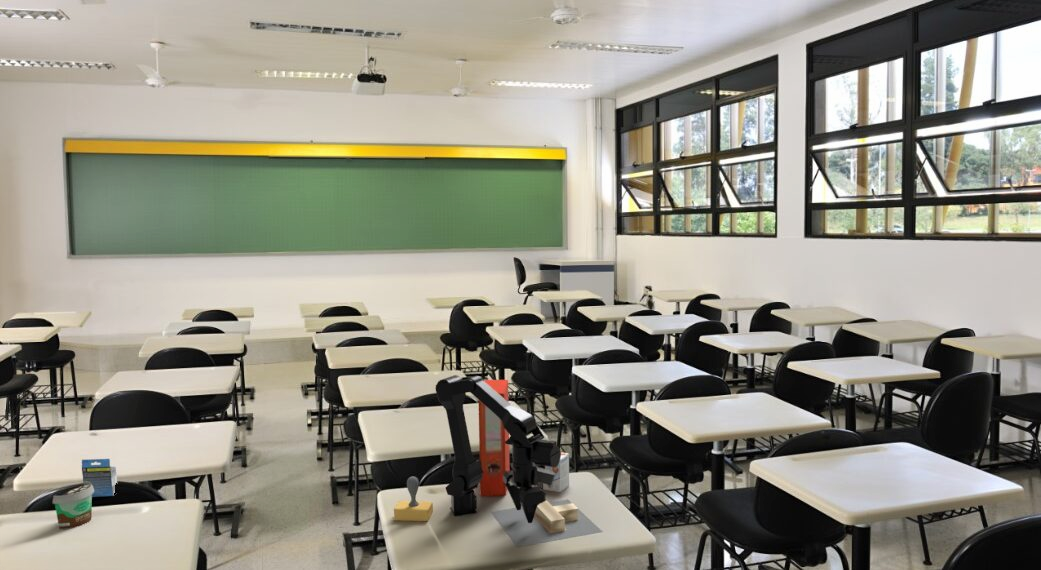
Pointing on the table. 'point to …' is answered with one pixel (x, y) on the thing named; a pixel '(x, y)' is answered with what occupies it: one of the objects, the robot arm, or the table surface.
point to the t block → (556, 515)
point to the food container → (74, 506)
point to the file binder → (493, 445)
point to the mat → (541, 526)
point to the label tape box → (100, 476)
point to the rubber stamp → (413, 505)
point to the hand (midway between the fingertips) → (524, 516)
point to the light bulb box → (558, 475)
